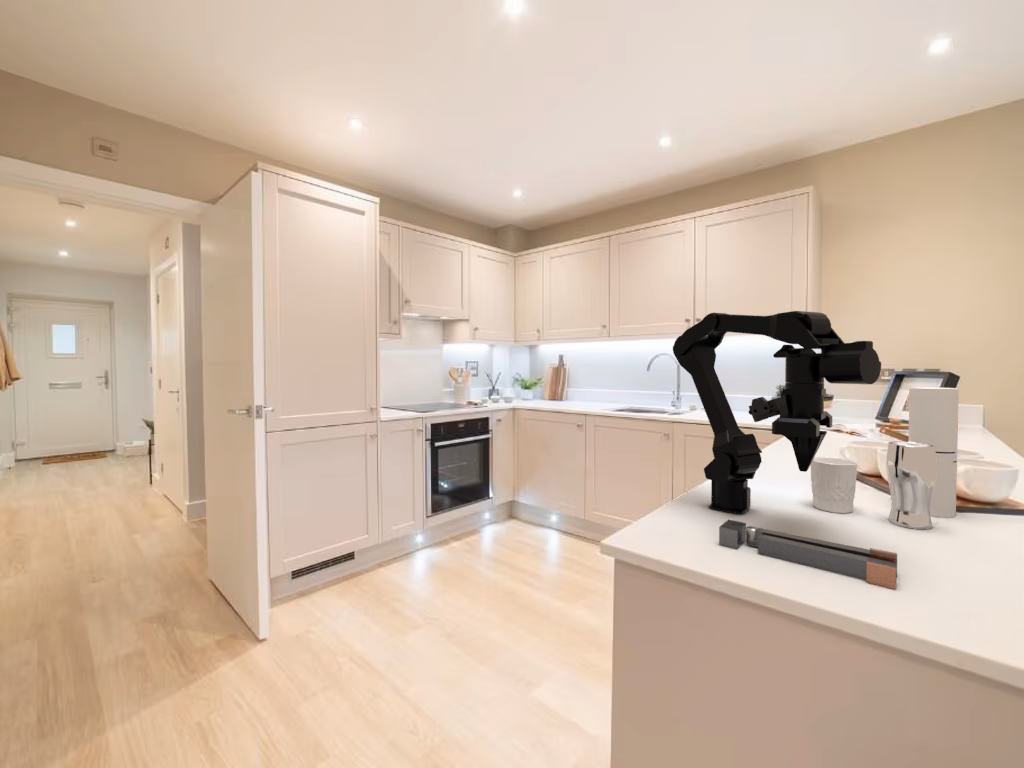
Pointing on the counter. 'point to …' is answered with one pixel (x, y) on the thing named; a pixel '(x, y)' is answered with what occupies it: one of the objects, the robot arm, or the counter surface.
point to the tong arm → (819, 544)
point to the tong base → (813, 555)
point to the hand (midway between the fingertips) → (803, 471)
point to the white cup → (833, 484)
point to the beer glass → (911, 483)
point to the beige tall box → (937, 440)
